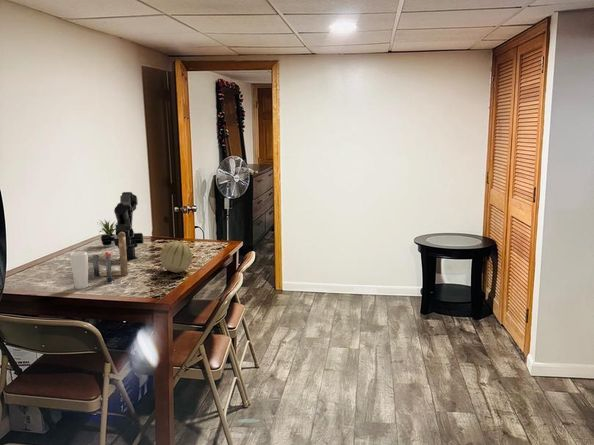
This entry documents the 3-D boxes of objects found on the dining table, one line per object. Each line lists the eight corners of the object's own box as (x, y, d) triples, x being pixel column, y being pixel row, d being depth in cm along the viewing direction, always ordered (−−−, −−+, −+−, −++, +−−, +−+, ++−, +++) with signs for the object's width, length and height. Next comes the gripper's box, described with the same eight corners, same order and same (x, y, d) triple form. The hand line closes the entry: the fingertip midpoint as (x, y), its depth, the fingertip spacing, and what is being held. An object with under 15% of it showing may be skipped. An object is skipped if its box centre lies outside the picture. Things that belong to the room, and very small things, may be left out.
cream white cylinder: (76, 285, 226) (73, 251, 223) (92, 284, 226) (89, 251, 223) (70, 290, 219) (67, 255, 216) (87, 289, 220) (84, 255, 217)
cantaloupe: (154, 272, 244) (152, 241, 241) (177, 265, 256) (176, 235, 253) (176, 278, 236) (175, 246, 233) (199, 270, 248) (198, 239, 245)
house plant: (88, 248, 289) (86, 219, 286) (104, 242, 302) (102, 214, 299) (110, 250, 285) (108, 220, 282) (125, 244, 298) (124, 216, 295)
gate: (100, 276, 237) (97, 233, 233) (101, 274, 240) (98, 231, 236) (127, 275, 239) (124, 232, 235) (128, 273, 242) (125, 230, 238)
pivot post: (97, 274, 241) (96, 253, 239) (104, 276, 238) (102, 255, 237) (89, 276, 237) (87, 255, 235) (95, 278, 235) (94, 257, 233)
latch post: (110, 280, 233) (108, 250, 230) (116, 281, 230) (114, 251, 228) (102, 282, 229) (100, 252, 227) (108, 284, 227) (106, 253, 224)
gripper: (100, 217, 243) (98, 246, 235) (141, 216, 247) (141, 244, 239) (103, 230, 253) (101, 258, 244) (143, 229, 256) (143, 256, 248)
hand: (122, 254), depth 243 cm, fingers closed
